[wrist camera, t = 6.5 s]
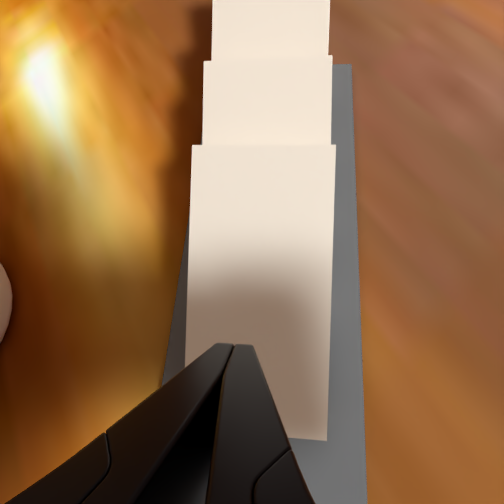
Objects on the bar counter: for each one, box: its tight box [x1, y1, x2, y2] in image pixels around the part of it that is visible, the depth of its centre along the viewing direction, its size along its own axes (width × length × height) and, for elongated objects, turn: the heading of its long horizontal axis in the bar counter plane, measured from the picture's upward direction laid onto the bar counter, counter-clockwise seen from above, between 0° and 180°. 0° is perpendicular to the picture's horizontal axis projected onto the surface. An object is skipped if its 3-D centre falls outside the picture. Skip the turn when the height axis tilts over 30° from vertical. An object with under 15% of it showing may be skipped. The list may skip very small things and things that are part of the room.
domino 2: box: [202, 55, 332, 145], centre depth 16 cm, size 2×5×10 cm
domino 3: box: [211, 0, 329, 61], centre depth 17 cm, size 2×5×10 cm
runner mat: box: [162, 64, 367, 504], centre depth 18 cm, size 24×8×1 cm, turn 176°
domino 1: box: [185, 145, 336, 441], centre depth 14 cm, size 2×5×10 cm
